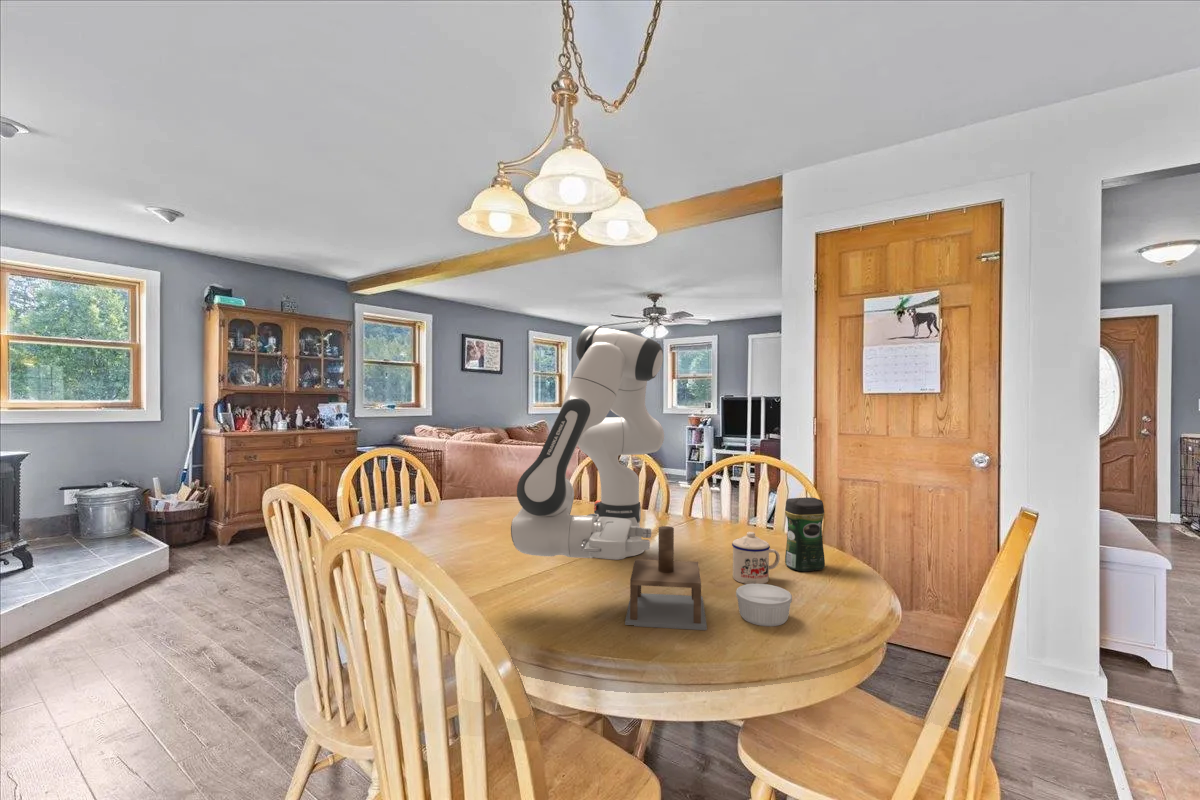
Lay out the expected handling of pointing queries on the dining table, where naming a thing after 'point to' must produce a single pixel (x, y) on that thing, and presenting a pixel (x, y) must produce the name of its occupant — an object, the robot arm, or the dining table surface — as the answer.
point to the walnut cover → (665, 574)
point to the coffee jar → (804, 534)
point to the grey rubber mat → (667, 612)
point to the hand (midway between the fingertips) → (650, 538)
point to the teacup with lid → (752, 559)
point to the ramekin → (763, 604)
